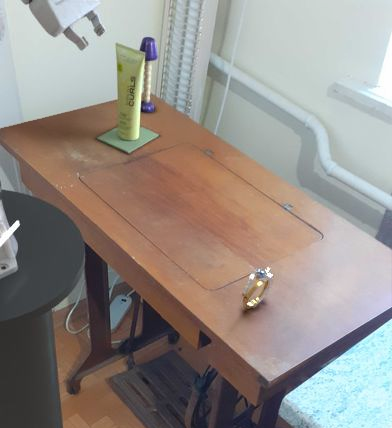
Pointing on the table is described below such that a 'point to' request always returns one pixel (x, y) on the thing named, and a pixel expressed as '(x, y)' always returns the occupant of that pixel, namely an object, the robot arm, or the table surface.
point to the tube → (129, 90)
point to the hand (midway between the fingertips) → (94, 40)
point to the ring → (268, 283)
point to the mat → (127, 145)
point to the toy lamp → (148, 71)
